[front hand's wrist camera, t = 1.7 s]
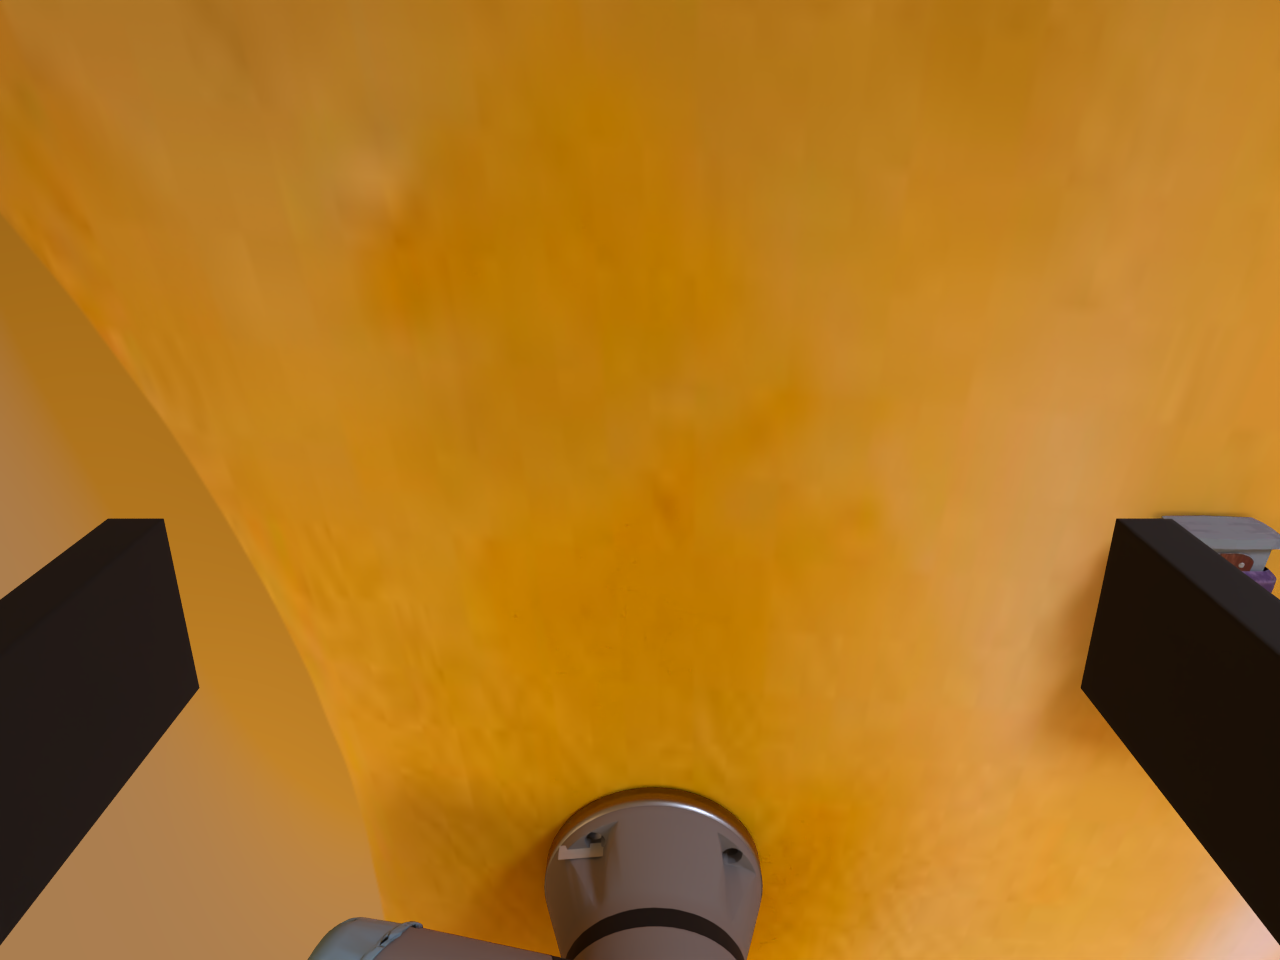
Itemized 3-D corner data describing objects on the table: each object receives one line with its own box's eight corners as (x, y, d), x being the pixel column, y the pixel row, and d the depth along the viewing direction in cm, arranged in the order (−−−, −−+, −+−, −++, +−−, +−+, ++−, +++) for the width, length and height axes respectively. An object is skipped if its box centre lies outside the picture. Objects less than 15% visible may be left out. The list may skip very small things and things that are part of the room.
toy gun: (1440, 564, 56) (1309, 755, 61) (1164, 491, 54) (1054, 694, 60) (1495, 596, 52) (1350, 795, 58) (1201, 518, 50) (1081, 732, 56)
